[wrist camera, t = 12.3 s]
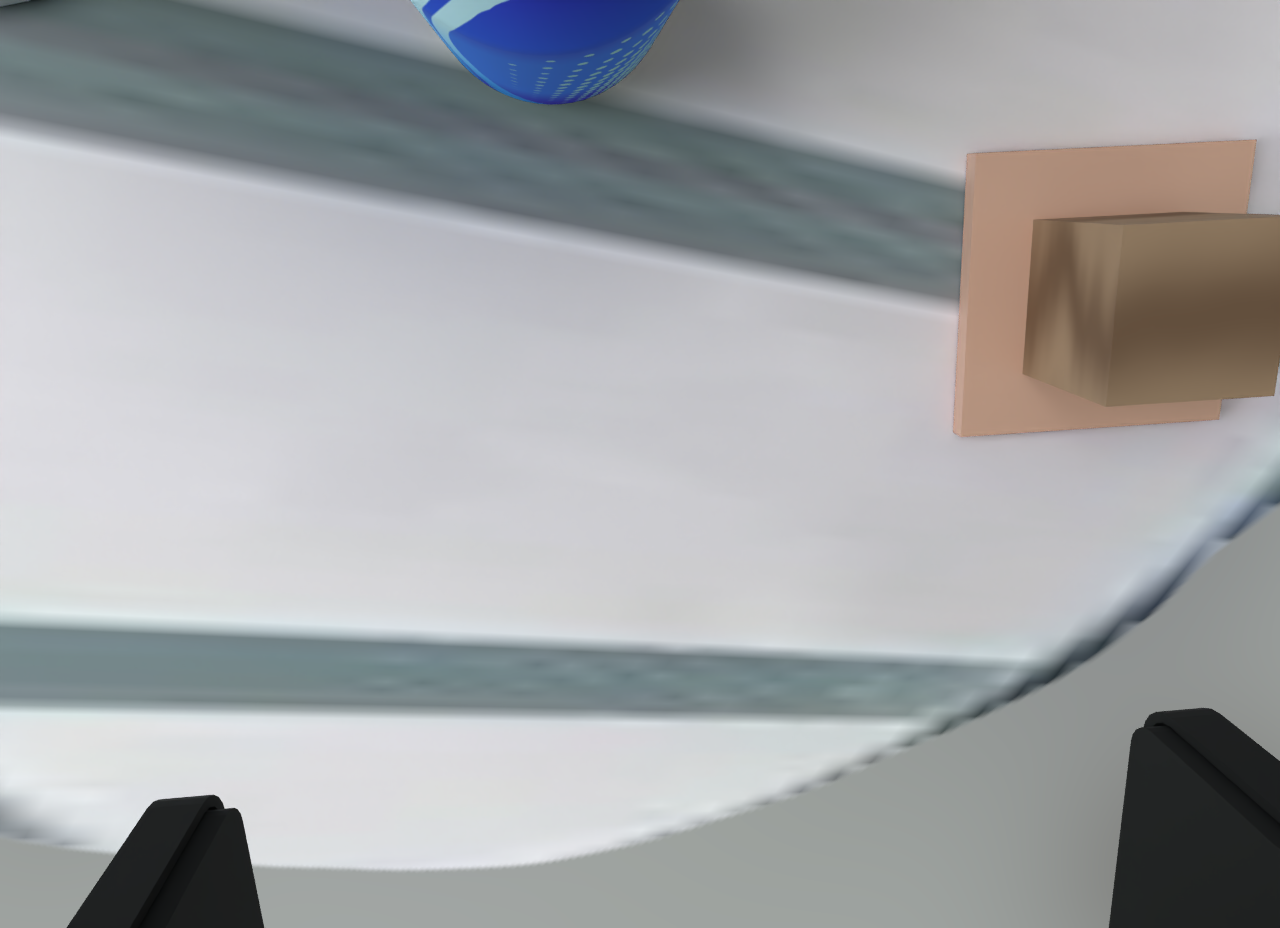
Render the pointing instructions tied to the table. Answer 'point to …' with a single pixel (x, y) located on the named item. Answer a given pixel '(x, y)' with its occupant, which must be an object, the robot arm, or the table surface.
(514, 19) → the beer can
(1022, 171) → the coaster
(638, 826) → the table surface
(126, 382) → the table surface
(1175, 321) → the walnut block
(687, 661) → the table surface
